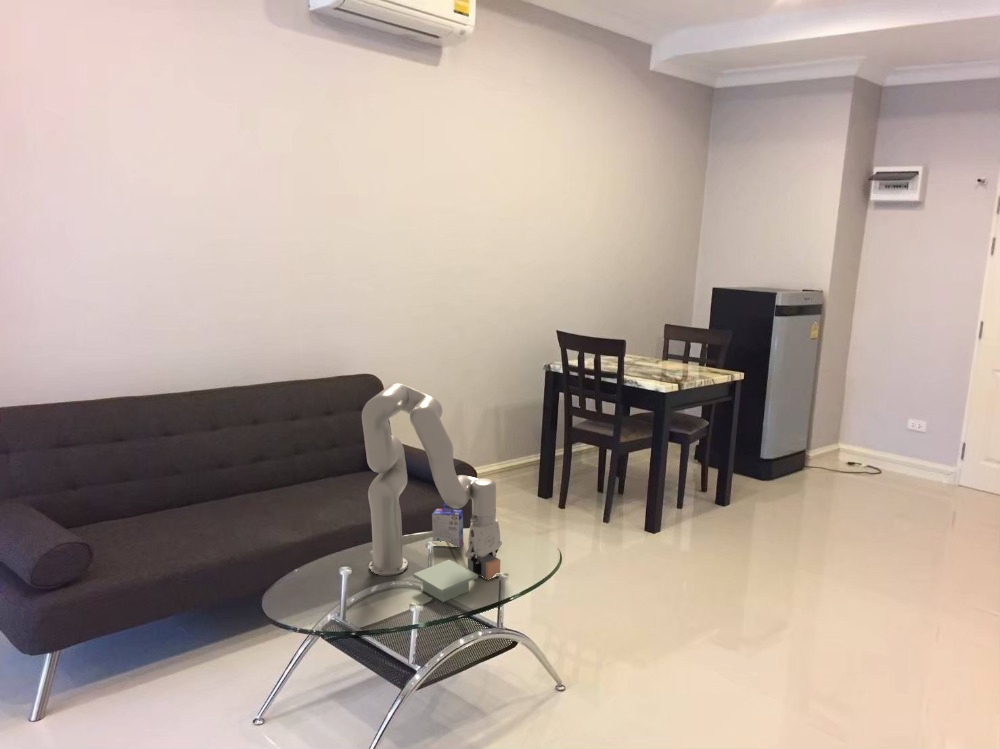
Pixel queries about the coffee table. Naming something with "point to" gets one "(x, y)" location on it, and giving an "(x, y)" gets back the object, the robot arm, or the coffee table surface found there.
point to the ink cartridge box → (448, 525)
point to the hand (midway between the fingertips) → (483, 570)
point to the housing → (487, 565)
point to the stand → (445, 580)
